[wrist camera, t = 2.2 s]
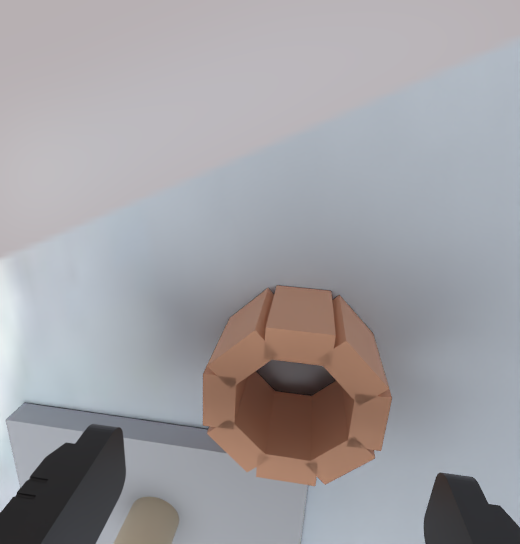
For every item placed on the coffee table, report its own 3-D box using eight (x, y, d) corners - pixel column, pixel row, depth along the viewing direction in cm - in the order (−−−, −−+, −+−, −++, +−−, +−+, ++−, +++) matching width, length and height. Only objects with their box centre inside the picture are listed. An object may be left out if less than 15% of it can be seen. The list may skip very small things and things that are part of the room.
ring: (383, 296, 14) (403, 343, 11) (360, 423, 16) (372, 495, 13) (227, 280, 15) (203, 320, 12) (224, 405, 17) (202, 468, 14)
